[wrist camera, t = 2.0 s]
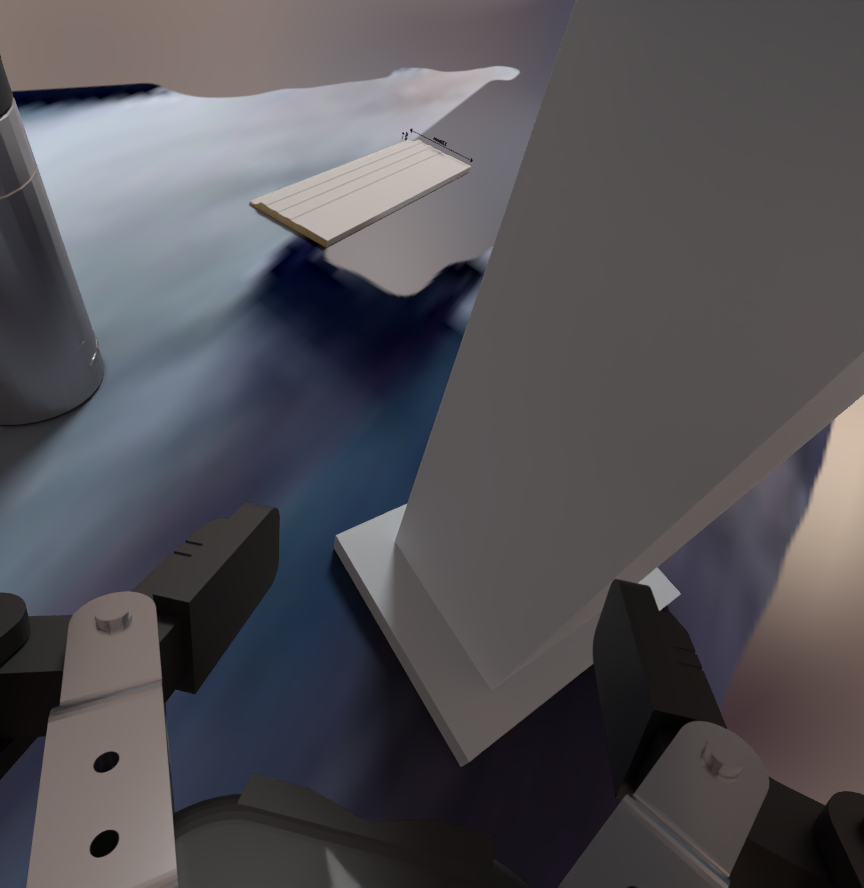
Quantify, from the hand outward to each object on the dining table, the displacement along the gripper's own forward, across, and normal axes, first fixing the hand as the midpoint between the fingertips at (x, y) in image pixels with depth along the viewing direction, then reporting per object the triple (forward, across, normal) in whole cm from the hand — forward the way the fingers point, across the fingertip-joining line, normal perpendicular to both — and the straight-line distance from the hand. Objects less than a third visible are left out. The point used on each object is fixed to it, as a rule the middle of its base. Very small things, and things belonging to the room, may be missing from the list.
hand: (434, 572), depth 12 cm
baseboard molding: (+60, +19, -9) cm, 64 cm away
